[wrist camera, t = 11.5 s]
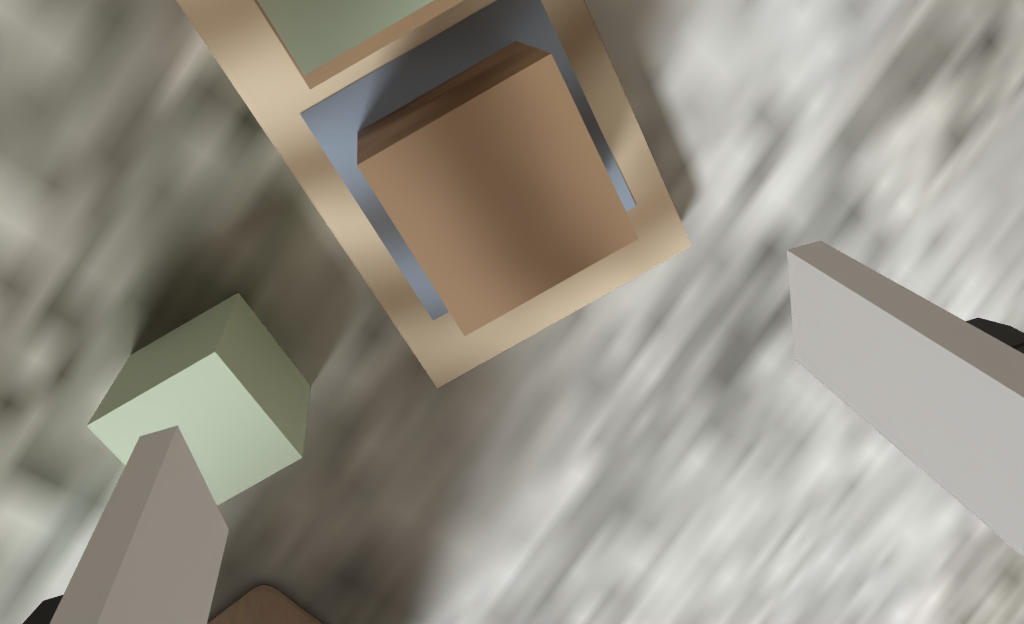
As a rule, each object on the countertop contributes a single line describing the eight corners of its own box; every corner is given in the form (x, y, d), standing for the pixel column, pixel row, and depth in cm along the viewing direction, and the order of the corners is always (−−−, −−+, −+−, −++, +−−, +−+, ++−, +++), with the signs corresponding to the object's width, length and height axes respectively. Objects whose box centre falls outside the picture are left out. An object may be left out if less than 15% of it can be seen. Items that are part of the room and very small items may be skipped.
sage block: (130, 354, 34) (86, 425, 28) (238, 291, 33) (215, 351, 28) (209, 443, 36) (183, 524, 31) (311, 385, 36) (302, 457, 30)
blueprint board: (120, -101, 27) (103, -108, 25) (441, -293, 27) (447, -314, 25) (433, 368, 36) (437, 389, 35) (674, 232, 36) (692, 246, 34)
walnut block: (447, 277, 33) (464, 336, 27) (357, 132, 30) (356, 165, 24) (591, 196, 32) (638, 238, 27) (515, 40, 29) (551, 53, 24)
